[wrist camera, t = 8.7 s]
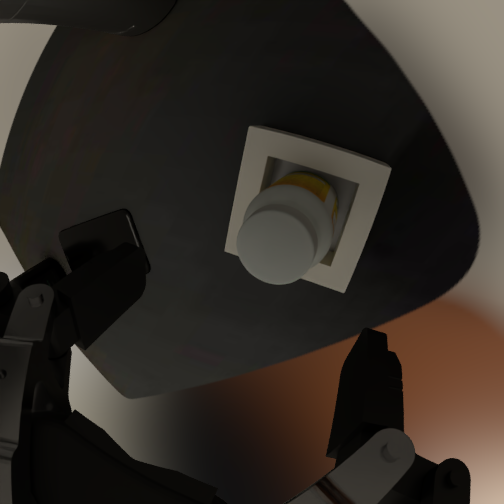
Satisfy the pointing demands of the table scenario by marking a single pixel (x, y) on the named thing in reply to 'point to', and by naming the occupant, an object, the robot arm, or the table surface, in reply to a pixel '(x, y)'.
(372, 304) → the table surface
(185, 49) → the table surface
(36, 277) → the supplement bottle
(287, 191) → the supplement bottle
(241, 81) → the table surface
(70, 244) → the smartphone
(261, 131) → the socket plate
